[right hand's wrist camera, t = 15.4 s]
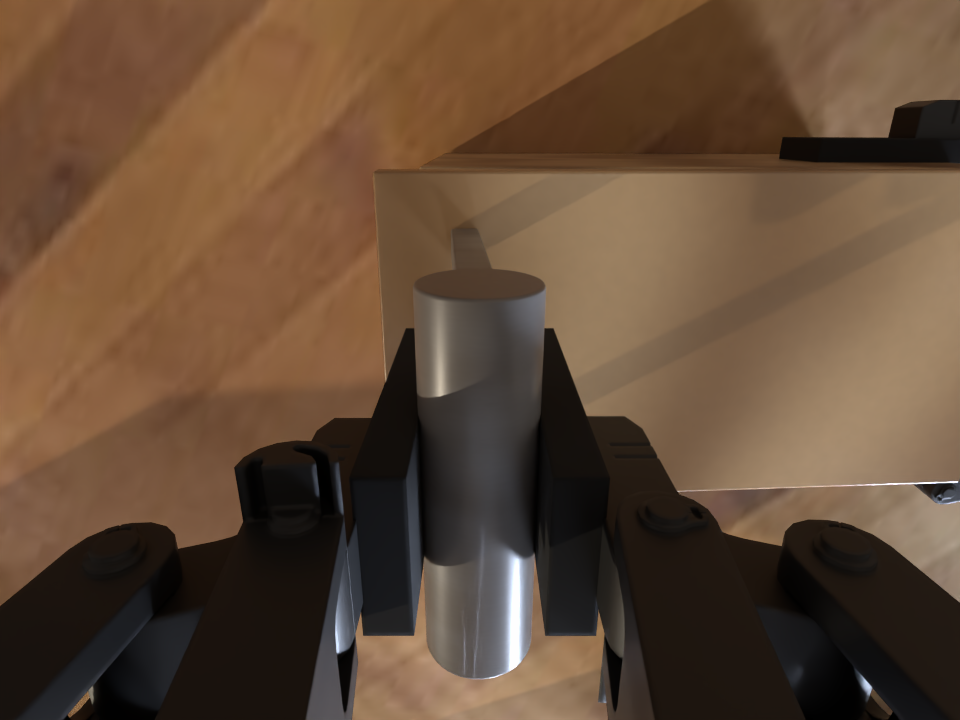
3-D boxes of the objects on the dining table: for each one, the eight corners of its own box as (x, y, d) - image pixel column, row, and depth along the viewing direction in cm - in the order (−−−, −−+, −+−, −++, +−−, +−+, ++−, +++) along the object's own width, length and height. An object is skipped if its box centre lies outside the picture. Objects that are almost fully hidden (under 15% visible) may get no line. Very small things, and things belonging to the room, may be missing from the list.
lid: (394, 484, 19) (360, 736, 11) (376, 169, 15) (308, 208, 8) (935, 467, 20) (1258, 686, 12) (1031, 168, 16) (1570, 201, 9)
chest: (448, 350, 30) (428, 462, 20) (444, 152, 27) (419, 166, 17) (783, 352, 30) (935, 466, 20) (822, 153, 27) (1030, 168, 16)
